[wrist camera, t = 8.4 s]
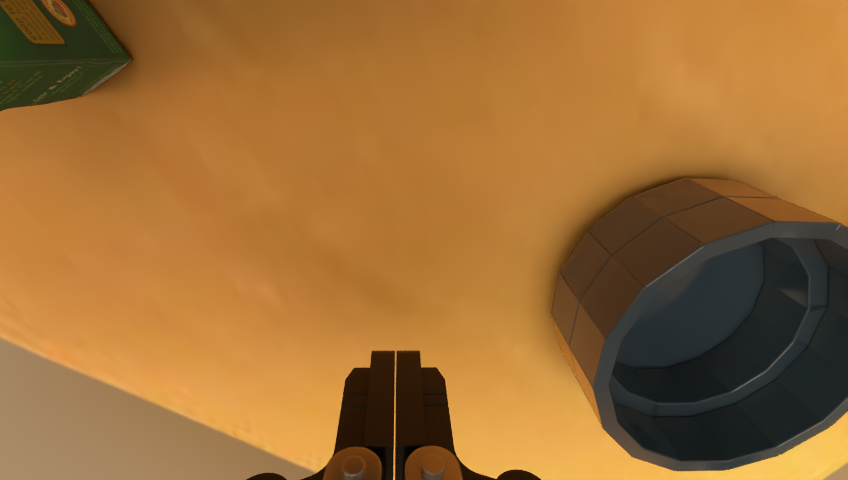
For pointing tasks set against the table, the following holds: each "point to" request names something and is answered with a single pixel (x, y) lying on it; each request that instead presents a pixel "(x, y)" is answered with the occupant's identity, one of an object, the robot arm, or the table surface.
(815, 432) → the bowl
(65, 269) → the table surface
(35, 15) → the coffee box
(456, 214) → the table surface
